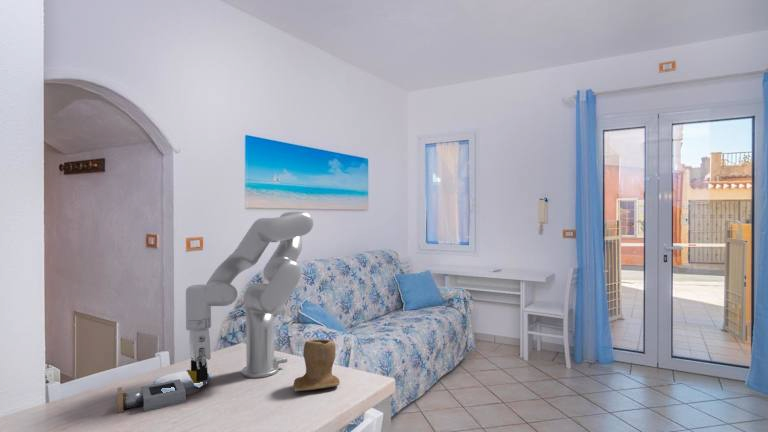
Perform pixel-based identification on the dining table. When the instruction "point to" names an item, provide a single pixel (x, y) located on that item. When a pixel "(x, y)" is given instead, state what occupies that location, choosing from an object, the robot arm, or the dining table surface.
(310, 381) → the brown hollow boot figurine
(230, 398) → the dining table surface
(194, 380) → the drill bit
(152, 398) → the fitting
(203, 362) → the robot arm
